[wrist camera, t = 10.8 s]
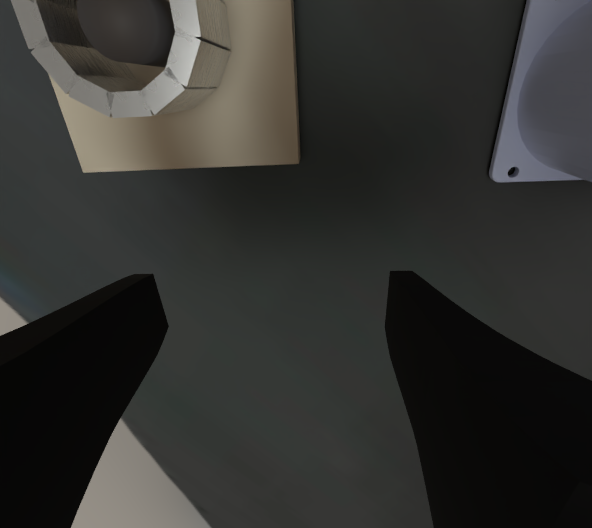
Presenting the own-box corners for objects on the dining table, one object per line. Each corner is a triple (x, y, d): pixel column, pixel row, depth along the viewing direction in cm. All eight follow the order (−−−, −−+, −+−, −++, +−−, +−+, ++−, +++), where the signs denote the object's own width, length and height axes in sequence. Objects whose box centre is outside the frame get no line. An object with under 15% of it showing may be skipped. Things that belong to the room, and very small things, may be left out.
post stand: (286, -155, 12) (266, -294, 8) (300, 157, 17) (293, 182, 13) (7, -120, 13) (-155, -227, 9) (100, 166, 18) (29, 191, 14)
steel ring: (217, -69, 12) (174, -132, 9) (238, 106, 15) (212, 112, 11) (69, -54, 13) (-28, -108, 9) (116, 113, 15) (54, 121, 12)
